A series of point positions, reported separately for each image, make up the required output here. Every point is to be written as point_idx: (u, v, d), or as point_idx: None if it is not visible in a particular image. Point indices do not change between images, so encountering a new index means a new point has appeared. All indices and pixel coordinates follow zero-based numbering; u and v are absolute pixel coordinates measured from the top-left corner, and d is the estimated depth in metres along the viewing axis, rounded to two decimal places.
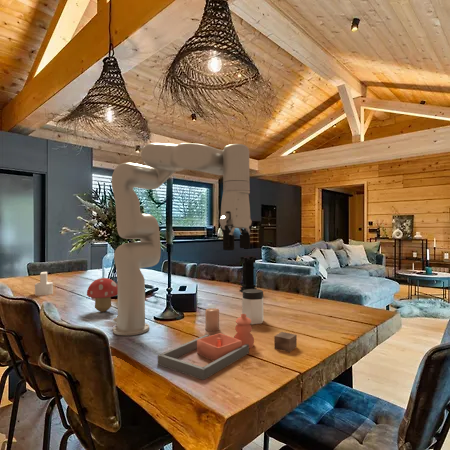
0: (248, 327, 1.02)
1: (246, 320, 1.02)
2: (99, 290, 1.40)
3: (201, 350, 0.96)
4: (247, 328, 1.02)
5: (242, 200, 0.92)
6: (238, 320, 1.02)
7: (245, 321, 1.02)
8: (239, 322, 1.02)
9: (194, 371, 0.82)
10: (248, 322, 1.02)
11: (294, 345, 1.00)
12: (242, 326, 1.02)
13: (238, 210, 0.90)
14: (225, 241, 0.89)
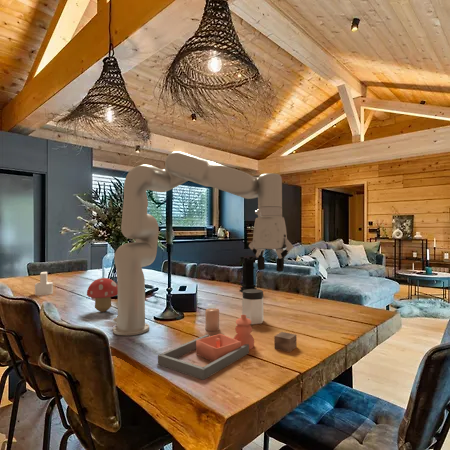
0: (248, 328, 1.01)
1: (246, 321, 1.01)
2: (99, 290, 1.40)
3: (200, 351, 0.95)
4: (247, 329, 1.01)
5: None
6: (238, 321, 1.02)
7: (245, 322, 1.01)
8: (239, 323, 1.01)
9: (194, 371, 0.82)
10: (248, 323, 1.01)
11: (294, 345, 1.00)
12: (242, 327, 1.01)
13: None
14: (282, 263, 1.01)
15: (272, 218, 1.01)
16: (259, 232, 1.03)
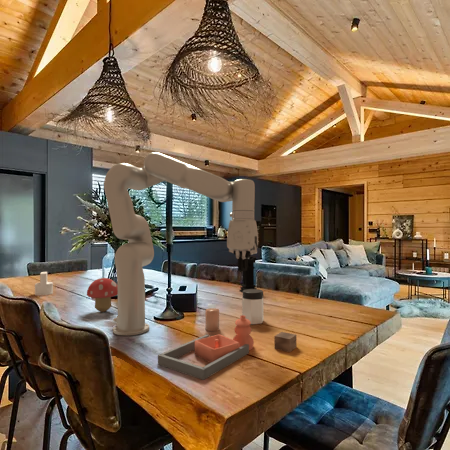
0: (247, 329, 1.00)
1: (245, 322, 1.00)
2: (99, 290, 1.40)
3: (198, 351, 0.95)
4: (246, 330, 1.00)
5: None
6: (237, 321, 1.01)
7: (244, 322, 1.00)
8: (238, 324, 1.00)
9: (194, 371, 0.82)
10: (247, 324, 1.00)
11: (294, 345, 1.00)
12: (241, 328, 1.00)
13: None
14: (245, 264, 1.10)
15: (244, 221, 1.08)
16: (233, 233, 1.10)
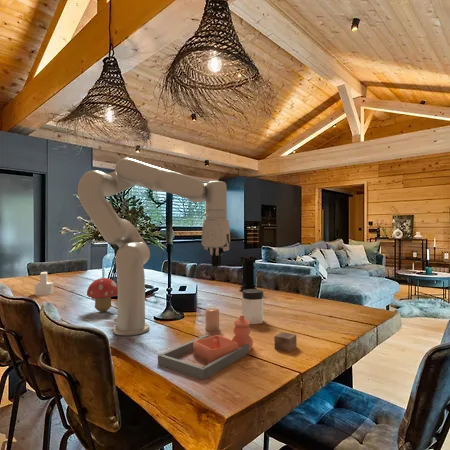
0: (246, 329, 1.00)
1: (244, 322, 1.00)
2: (99, 290, 1.40)
3: (197, 352, 0.94)
4: (245, 331, 0.99)
5: None
6: (236, 322, 1.00)
7: (243, 323, 0.99)
8: (237, 324, 1.00)
9: (194, 371, 0.82)
10: (246, 324, 1.00)
11: (294, 345, 1.00)
12: (240, 328, 1.00)
13: None
14: (218, 260, 1.18)
15: (216, 220, 1.16)
16: (206, 232, 1.18)
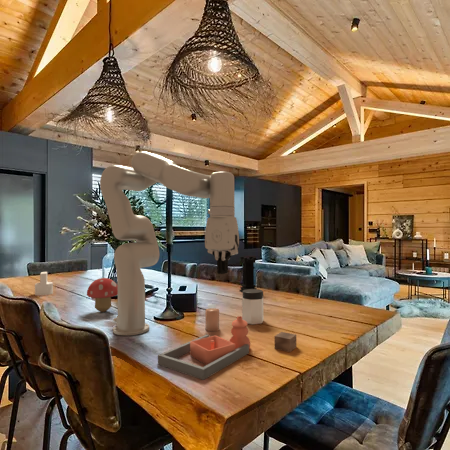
0: (244, 330, 0.99)
1: (242, 323, 0.99)
2: (99, 290, 1.40)
3: (194, 352, 0.94)
4: (243, 331, 0.99)
5: None
6: (234, 323, 1.00)
7: (241, 324, 0.99)
8: (234, 325, 0.99)
9: (194, 371, 0.82)
10: (244, 325, 0.99)
11: (294, 345, 1.00)
12: (237, 329, 0.99)
13: None
14: (225, 265, 0.99)
15: (223, 218, 0.97)
16: (211, 232, 0.99)
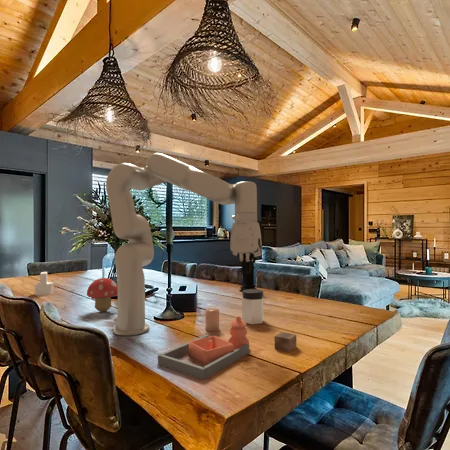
0: (242, 330, 0.98)
1: (240, 323, 0.99)
2: (99, 290, 1.40)
3: (192, 352, 0.94)
4: (242, 332, 0.98)
5: None
6: (232, 323, 0.99)
7: (240, 324, 0.98)
8: (233, 325, 0.99)
9: (194, 371, 0.82)
10: (242, 325, 0.98)
11: (294, 345, 1.00)
12: (236, 329, 0.99)
13: None
14: (249, 266, 1.10)
15: (247, 223, 1.08)
16: (236, 236, 1.10)
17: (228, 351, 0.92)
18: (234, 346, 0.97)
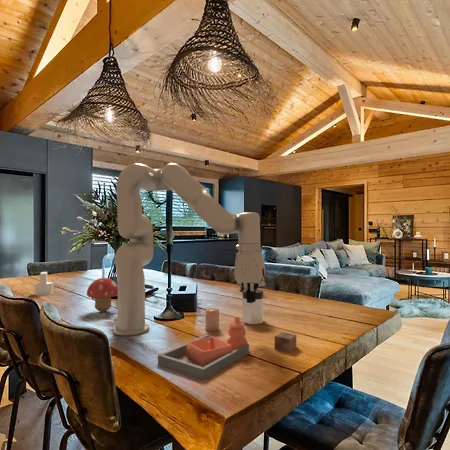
0: (241, 331, 0.98)
1: (239, 324, 0.98)
2: (99, 290, 1.40)
3: (190, 353, 0.93)
4: (240, 333, 0.98)
5: None
6: (231, 323, 0.99)
7: (238, 325, 0.98)
8: (232, 326, 0.98)
9: (194, 371, 0.82)
10: (241, 326, 0.98)
11: (294, 345, 1.00)
12: (235, 330, 0.98)
13: None
14: (254, 295, 1.11)
15: (251, 254, 1.10)
16: (240, 266, 1.12)
17: (226, 352, 0.91)
18: (232, 347, 0.97)
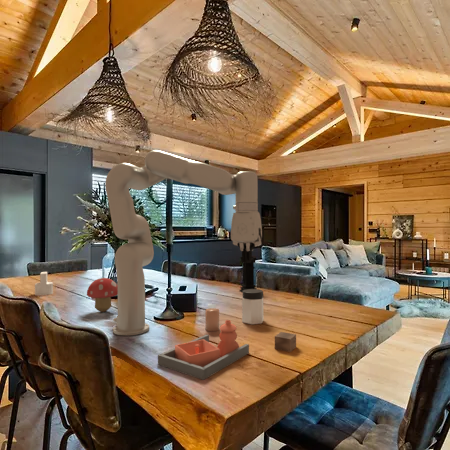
0: (231, 335, 0.94)
1: (229, 327, 0.95)
2: (99, 290, 1.40)
3: (178, 356, 0.91)
4: (231, 336, 0.94)
5: None
6: (221, 327, 0.96)
7: (229, 328, 0.94)
8: (222, 329, 0.95)
9: (194, 371, 0.82)
10: (231, 329, 0.94)
11: (294, 345, 1.01)
12: (225, 333, 0.95)
13: None
14: (249, 256, 1.10)
15: (248, 213, 1.08)
16: (236, 226, 1.11)
17: (214, 356, 0.88)
18: (222, 351, 0.94)
